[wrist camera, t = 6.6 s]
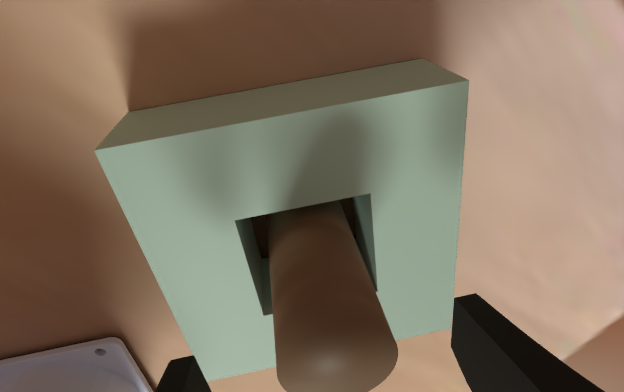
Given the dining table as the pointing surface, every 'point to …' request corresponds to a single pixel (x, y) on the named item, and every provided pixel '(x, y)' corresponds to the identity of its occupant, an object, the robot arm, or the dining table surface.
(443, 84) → the socket block
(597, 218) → the dining table surface
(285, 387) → the walnut peg
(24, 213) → the dining table surface
